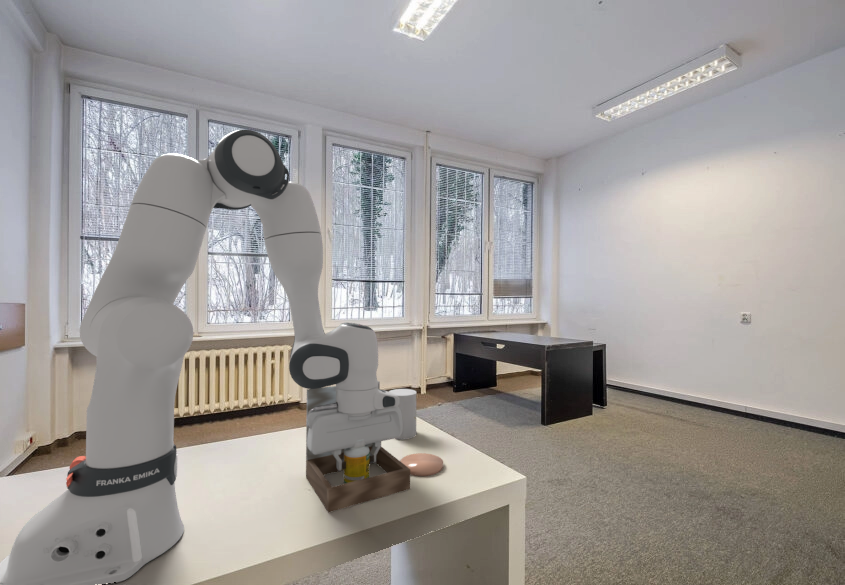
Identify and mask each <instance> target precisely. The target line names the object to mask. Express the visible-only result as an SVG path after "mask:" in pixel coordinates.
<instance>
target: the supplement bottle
mask: <svg viewBox="0 0 845 585" xmlns="http://www.w3.org/2000/svg"><path fill="white" fill-rule="evenodd" d="M369 456H370V451H369V447H368V446H367V445H366V444H365V442H364V439H363V440H358V441H356V444H355V446H354V447H351V448H346V449H345V450H344V460H345V461H346V469H345V470H344V471H343V484H345V483H349V482H353V481H357V480H361V479H365V478H369V477H370V464H369Z"/></svg>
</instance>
